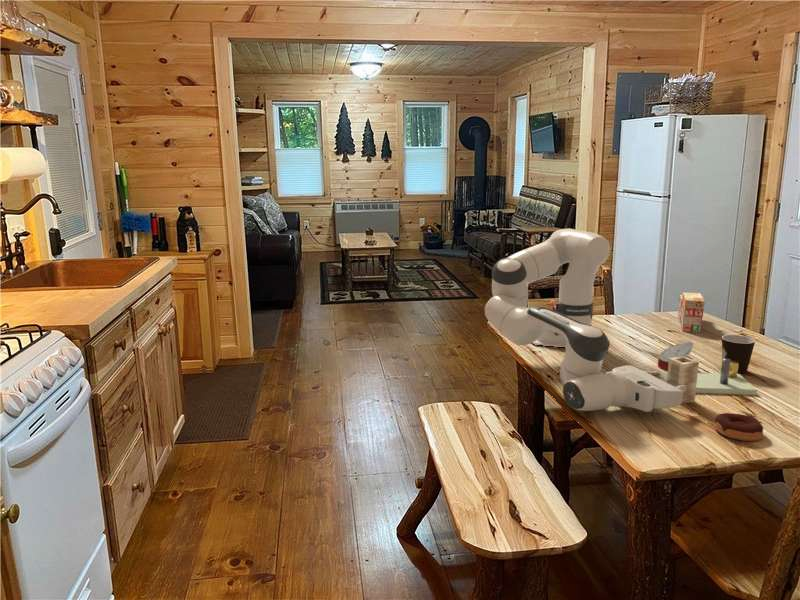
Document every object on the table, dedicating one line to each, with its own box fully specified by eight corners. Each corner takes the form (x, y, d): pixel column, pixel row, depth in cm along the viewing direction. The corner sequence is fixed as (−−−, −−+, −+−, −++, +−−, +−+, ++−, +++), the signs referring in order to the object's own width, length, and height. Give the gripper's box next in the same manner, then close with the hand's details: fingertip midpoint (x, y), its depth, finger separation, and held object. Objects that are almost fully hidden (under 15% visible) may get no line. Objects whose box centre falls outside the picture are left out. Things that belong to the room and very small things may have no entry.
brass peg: (726, 377, 166) (728, 364, 165) (722, 373, 169) (724, 360, 169) (738, 378, 166) (740, 364, 165) (734, 374, 169) (736, 361, 168)
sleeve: (678, 404, 153) (682, 364, 151) (665, 396, 158) (669, 358, 155) (694, 401, 155) (698, 362, 152) (680, 394, 159) (684, 356, 157)
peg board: (670, 391, 161) (670, 386, 161) (658, 376, 173) (658, 371, 172) (756, 395, 158) (757, 389, 158) (738, 378, 170) (739, 373, 169)
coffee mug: (750, 378, 170) (754, 345, 168) (716, 372, 174) (720, 340, 172) (752, 365, 179) (756, 334, 177) (720, 361, 184) (723, 330, 182)
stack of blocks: (677, 317, 234) (680, 287, 231) (694, 318, 232) (698, 287, 229) (682, 332, 215) (685, 299, 212) (701, 333, 213) (704, 300, 210)
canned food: (686, 388, 176) (687, 365, 170) (652, 376, 182) (652, 354, 176) (700, 363, 181) (701, 340, 175) (666, 353, 188) (667, 330, 182)
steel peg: (721, 384, 162) (724, 360, 160) (718, 381, 164) (721, 358, 162) (729, 384, 161) (731, 360, 160) (726, 382, 163) (729, 358, 162)
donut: (767, 432, 137) (769, 417, 136) (757, 448, 130) (759, 432, 129) (719, 420, 144) (721, 405, 143) (708, 435, 137) (709, 419, 136)
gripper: (600, 384, 160) (643, 378, 164) (651, 415, 141) (698, 407, 145) (601, 362, 159) (644, 357, 162) (653, 390, 139) (701, 383, 143)
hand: (670, 381), depth 153 cm, fingers open, 8 cm apart
